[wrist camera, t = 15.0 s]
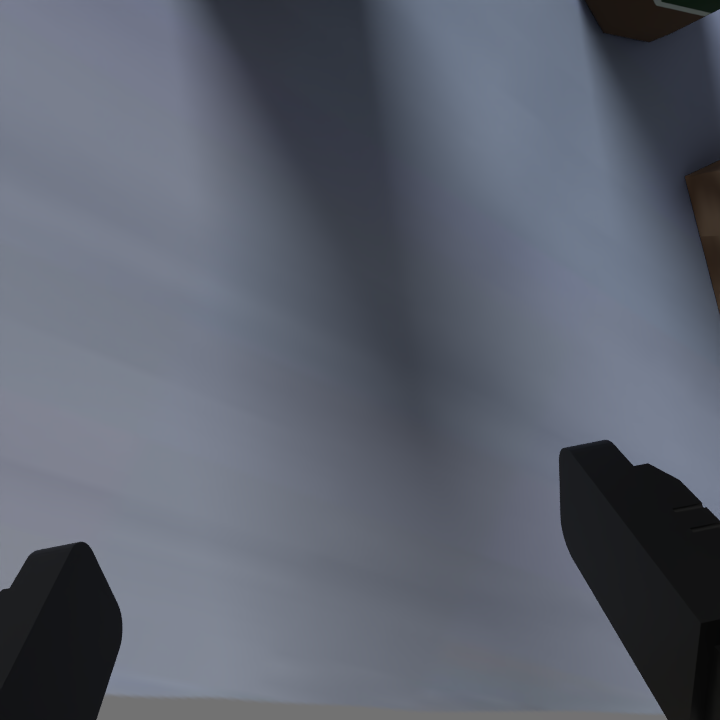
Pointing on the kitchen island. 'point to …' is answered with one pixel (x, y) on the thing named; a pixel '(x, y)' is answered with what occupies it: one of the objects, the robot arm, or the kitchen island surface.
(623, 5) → the beer bottle
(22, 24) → the kitchen island surface
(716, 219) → the walnut block
